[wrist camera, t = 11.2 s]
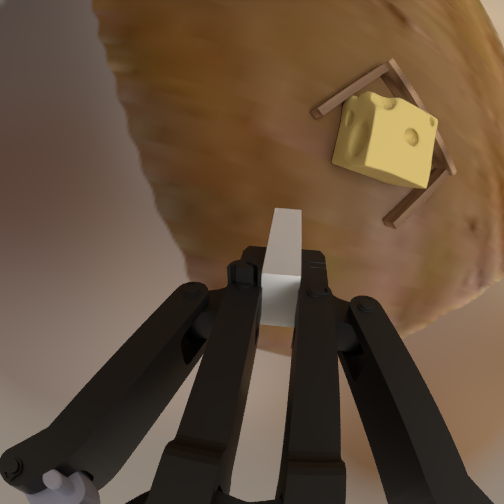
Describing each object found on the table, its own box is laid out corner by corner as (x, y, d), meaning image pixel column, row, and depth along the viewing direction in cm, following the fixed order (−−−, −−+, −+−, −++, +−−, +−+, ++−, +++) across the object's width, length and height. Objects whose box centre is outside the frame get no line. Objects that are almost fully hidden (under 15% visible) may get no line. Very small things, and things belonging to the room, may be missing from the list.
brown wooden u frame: (309, 112, 36) (320, 106, 32) (379, 65, 35) (393, 58, 31) (385, 225, 42) (400, 230, 38) (441, 170, 41) (456, 171, 37)
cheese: (341, 98, 36) (378, 82, 27) (400, 125, 38) (443, 119, 29) (326, 166, 38) (362, 166, 29) (388, 187, 41) (430, 194, 31)
